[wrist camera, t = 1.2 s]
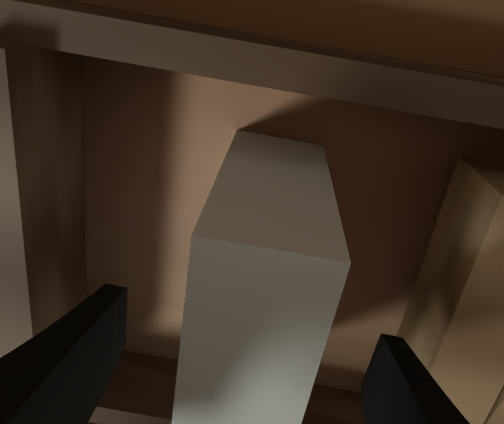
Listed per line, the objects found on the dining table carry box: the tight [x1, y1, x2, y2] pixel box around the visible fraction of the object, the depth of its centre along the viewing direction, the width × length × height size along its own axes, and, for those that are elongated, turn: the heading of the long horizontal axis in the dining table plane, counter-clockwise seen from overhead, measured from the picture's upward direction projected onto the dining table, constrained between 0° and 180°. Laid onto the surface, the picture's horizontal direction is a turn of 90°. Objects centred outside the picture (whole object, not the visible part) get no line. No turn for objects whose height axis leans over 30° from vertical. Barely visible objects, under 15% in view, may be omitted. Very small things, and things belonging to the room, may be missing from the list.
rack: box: [0, 0, 504, 424], centre depth 15 cm, size 15×23×4 cm
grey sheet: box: [171, 130, 351, 424], centre depth 13 cm, size 9×3×8 cm, turn 171°
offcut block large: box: [397, 156, 504, 424], centre depth 15 cm, size 10×2×4 cm, turn 174°
